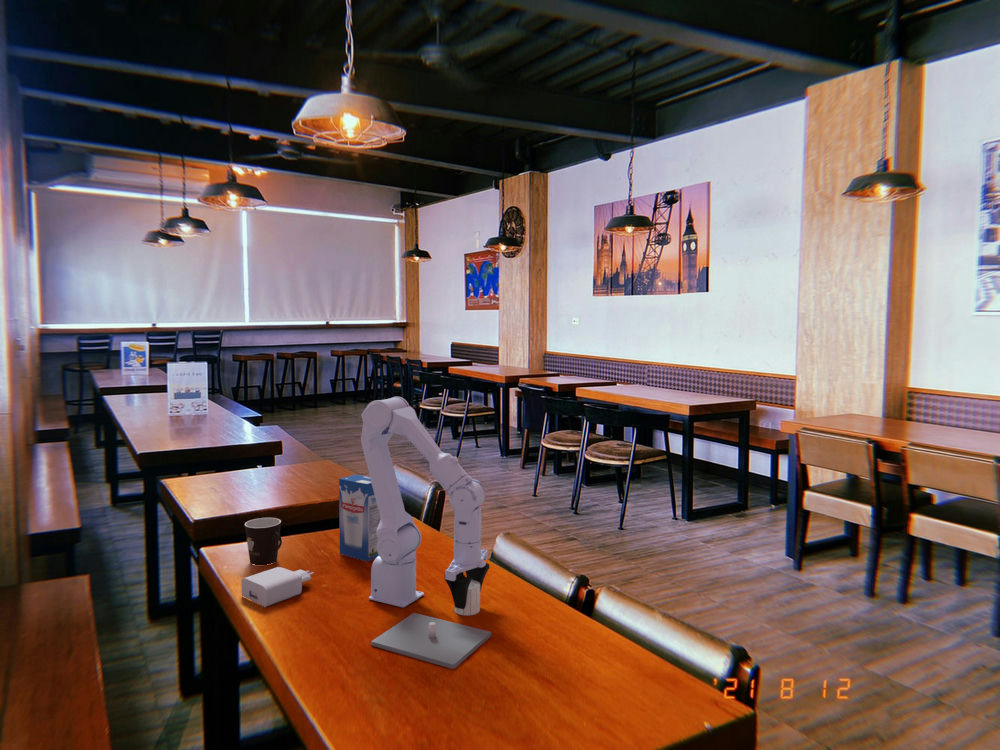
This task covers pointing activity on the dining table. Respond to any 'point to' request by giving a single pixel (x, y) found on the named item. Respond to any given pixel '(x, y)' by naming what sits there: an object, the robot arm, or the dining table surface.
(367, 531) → the milk carton
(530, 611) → the dining table surface
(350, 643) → the dining table surface
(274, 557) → the coffee mug
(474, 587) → the paper roll
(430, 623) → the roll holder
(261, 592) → the charger
